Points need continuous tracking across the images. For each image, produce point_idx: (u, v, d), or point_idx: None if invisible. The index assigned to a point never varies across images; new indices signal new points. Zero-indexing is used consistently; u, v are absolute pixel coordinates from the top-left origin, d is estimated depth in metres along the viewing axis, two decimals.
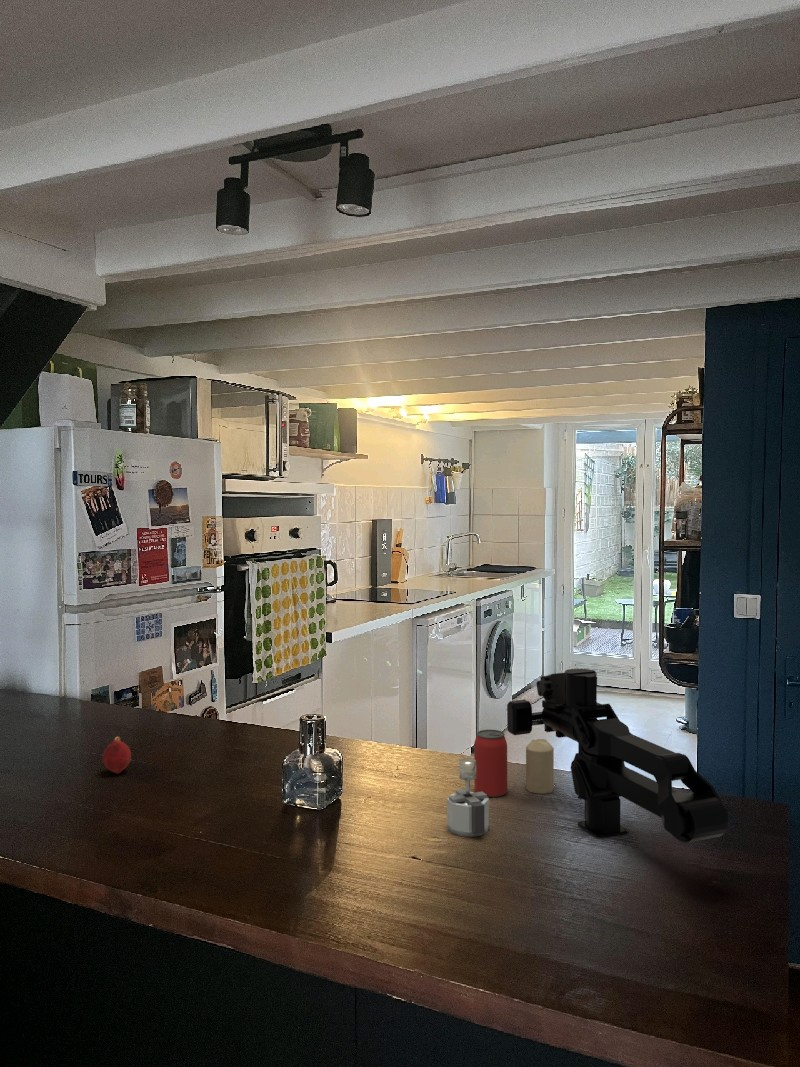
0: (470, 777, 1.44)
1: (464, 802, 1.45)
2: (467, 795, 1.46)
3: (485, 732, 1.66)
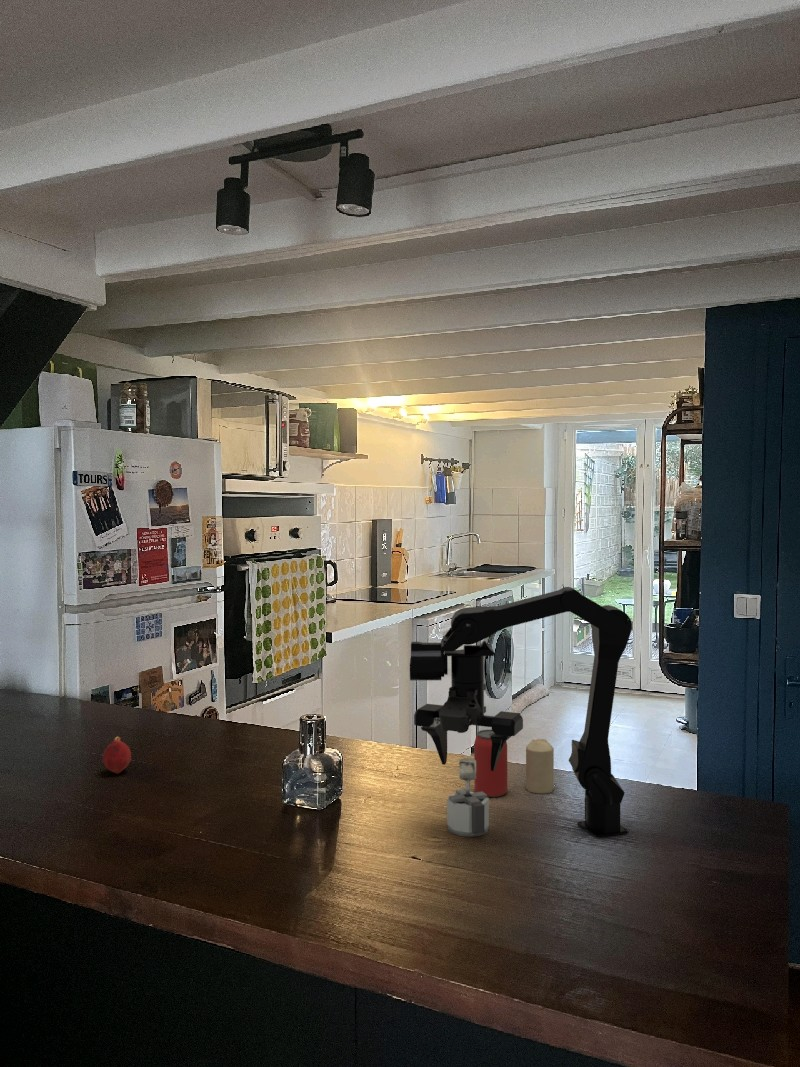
0: (470, 777, 1.44)
1: (464, 802, 1.45)
2: (467, 795, 1.46)
3: (485, 732, 1.66)
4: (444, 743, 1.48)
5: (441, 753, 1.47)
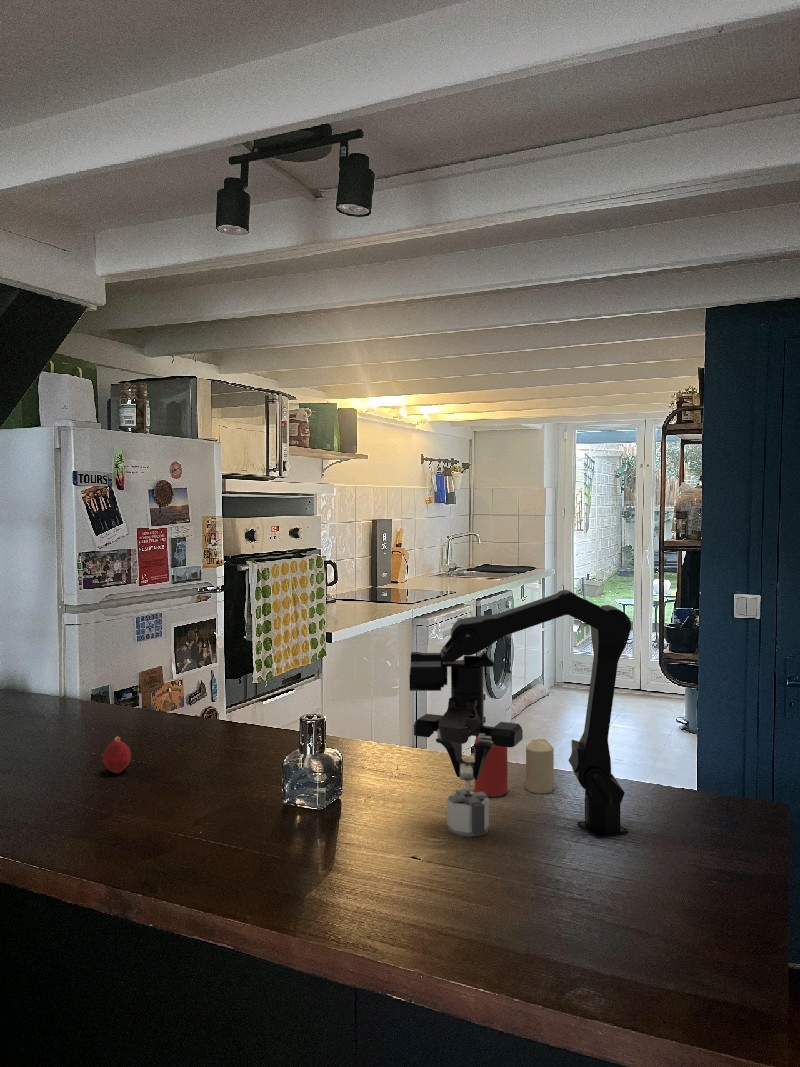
0: (470, 777, 1.44)
1: (464, 802, 1.45)
2: (467, 795, 1.46)
3: None
4: (459, 755, 1.47)
5: (456, 765, 1.46)
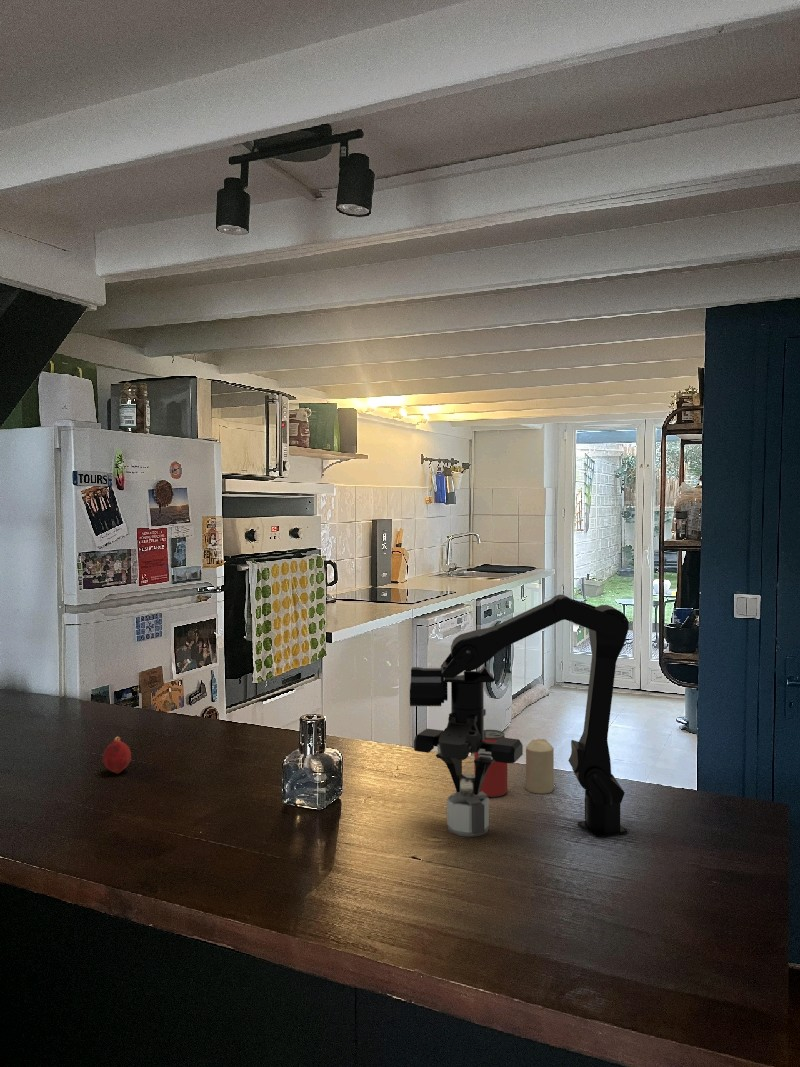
0: (470, 793, 1.45)
1: None
2: None
3: None
4: (459, 770, 1.47)
5: (456, 781, 1.46)
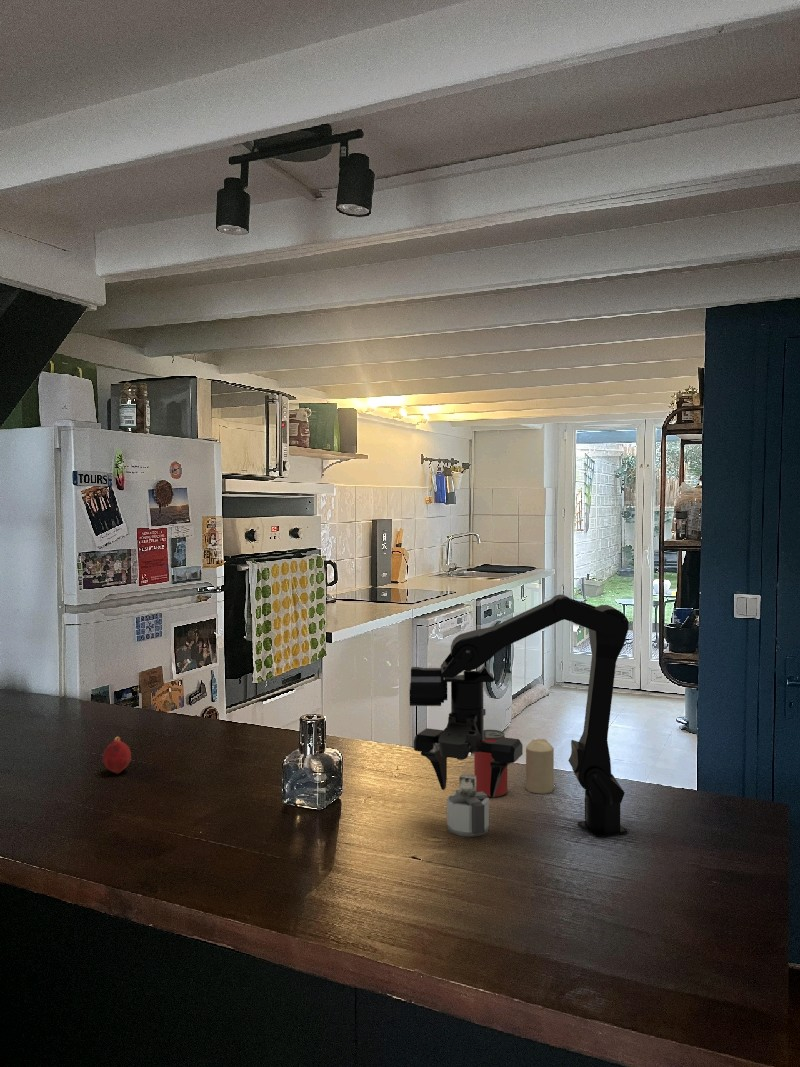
0: (470, 793, 1.45)
1: None
2: None
3: None
4: (444, 768, 1.48)
5: (441, 778, 1.47)
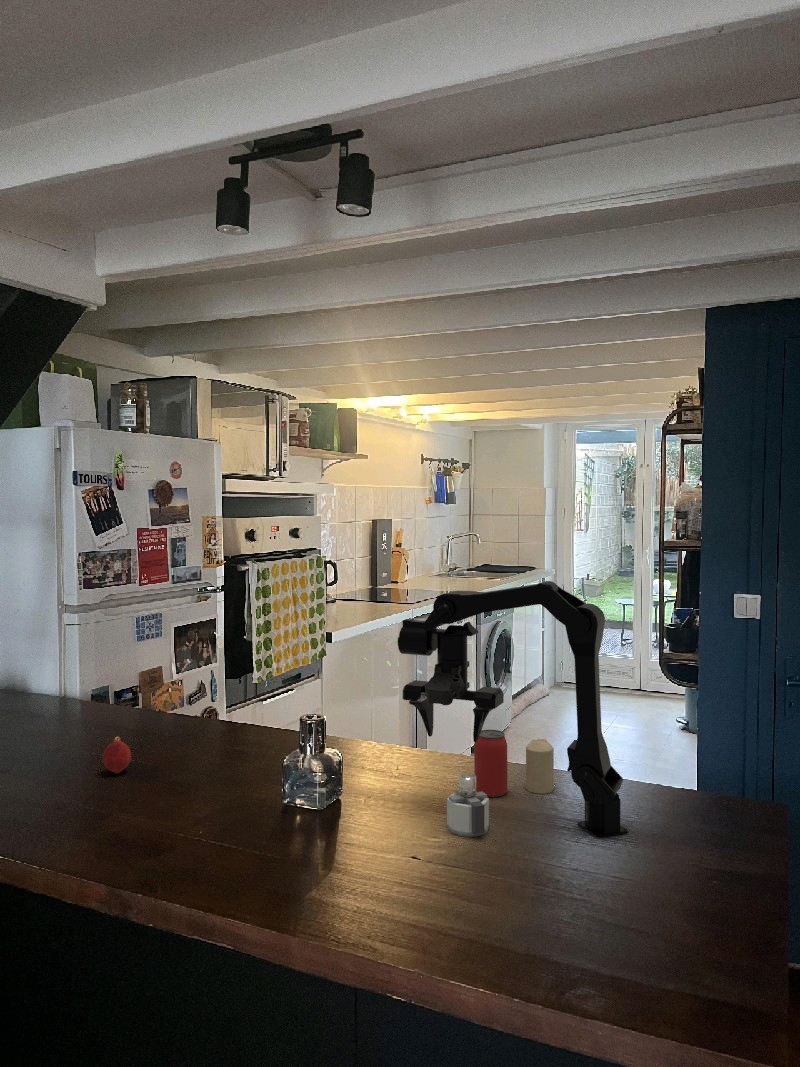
0: (470, 793, 1.45)
1: None
2: None
3: (485, 732, 1.66)
4: (430, 716, 1.59)
5: (427, 726, 1.58)
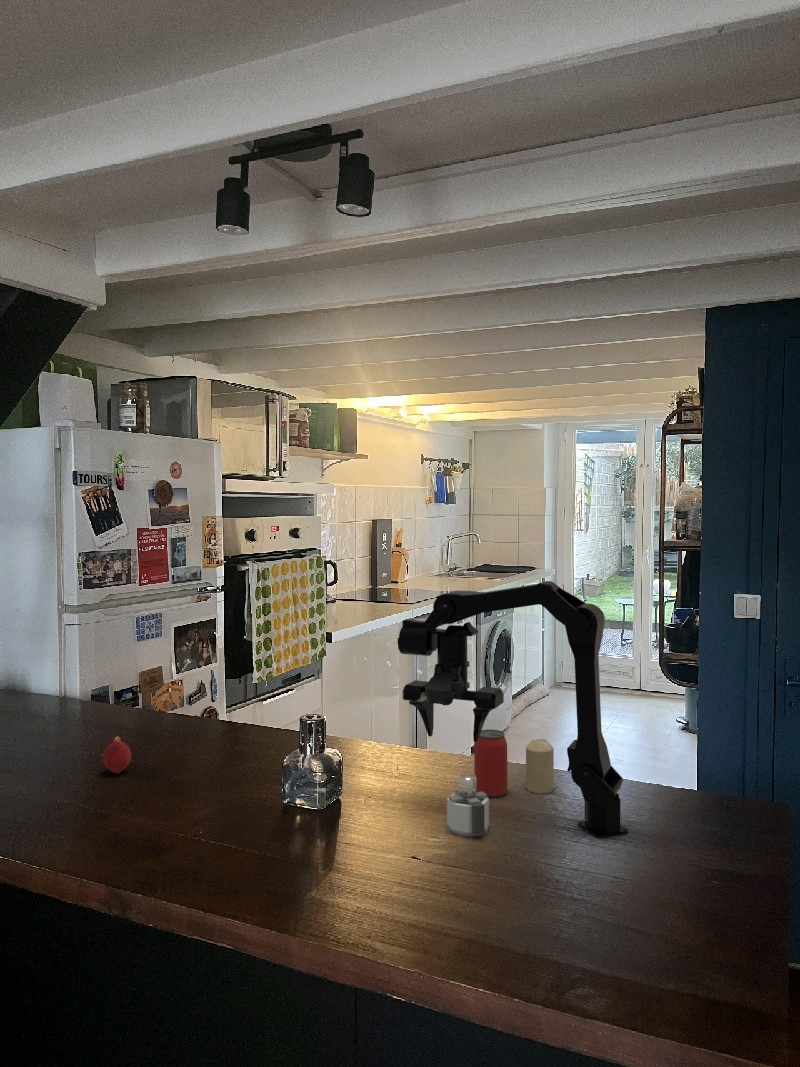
0: (470, 793, 1.45)
1: None
2: None
3: (485, 732, 1.66)
4: (430, 716, 1.59)
5: (427, 726, 1.58)
